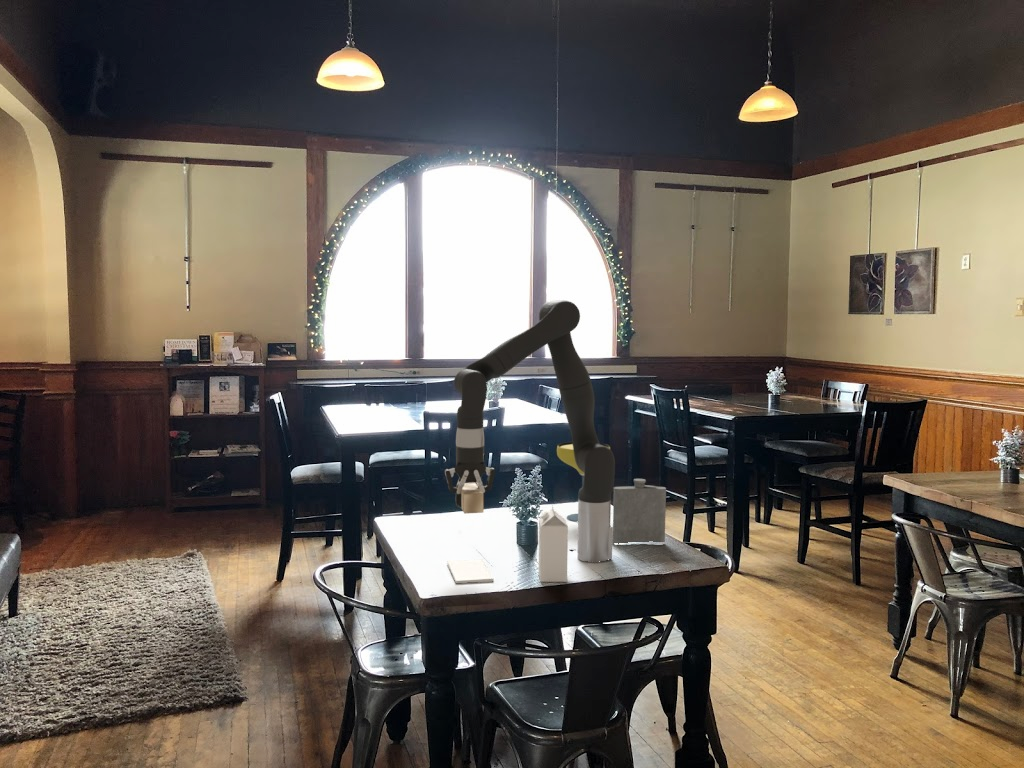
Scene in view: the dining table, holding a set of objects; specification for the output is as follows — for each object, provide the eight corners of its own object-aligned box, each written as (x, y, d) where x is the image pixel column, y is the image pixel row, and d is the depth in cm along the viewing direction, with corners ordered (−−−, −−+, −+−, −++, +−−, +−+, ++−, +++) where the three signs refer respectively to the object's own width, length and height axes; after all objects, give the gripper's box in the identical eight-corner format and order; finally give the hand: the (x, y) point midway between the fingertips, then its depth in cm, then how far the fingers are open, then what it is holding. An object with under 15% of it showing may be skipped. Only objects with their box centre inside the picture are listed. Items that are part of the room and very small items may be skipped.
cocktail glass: (545, 516, 292) (546, 444, 290) (584, 509, 303) (585, 439, 301) (580, 527, 278) (581, 452, 276) (620, 519, 289) (621, 447, 286)
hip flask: (613, 545, 258) (614, 480, 256) (611, 542, 262) (612, 478, 260) (665, 545, 258) (667, 480, 256) (662, 541, 262) (664, 478, 261)
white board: (482, 562, 240) (482, 559, 240) (493, 581, 224) (493, 578, 224) (447, 564, 238) (447, 561, 238) (455, 583, 222) (455, 580, 221)
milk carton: (564, 573, 231) (565, 505, 229) (567, 582, 223) (568, 511, 222) (538, 574, 230) (539, 505, 228) (540, 582, 223) (541, 511, 221)
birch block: (474, 482, 236) (483, 493, 223) (475, 500, 237) (483, 512, 223) (457, 483, 235) (464, 494, 222) (457, 501, 236) (464, 513, 222)
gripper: (445, 447, 223) (445, 511, 224) (499, 445, 225) (498, 508, 227) (441, 442, 230) (441, 504, 231) (493, 441, 233) (493, 502, 234)
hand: (470, 506), depth 229 cm, fingers closed on birch block, 5 cm apart
